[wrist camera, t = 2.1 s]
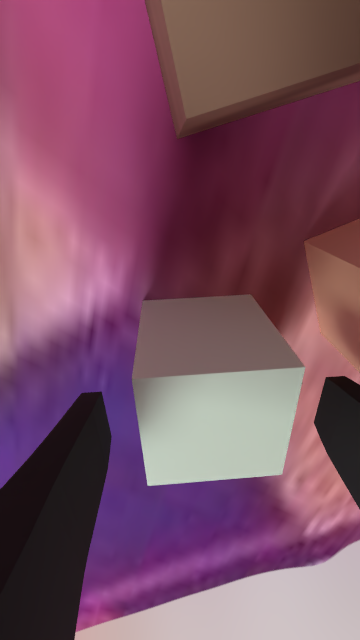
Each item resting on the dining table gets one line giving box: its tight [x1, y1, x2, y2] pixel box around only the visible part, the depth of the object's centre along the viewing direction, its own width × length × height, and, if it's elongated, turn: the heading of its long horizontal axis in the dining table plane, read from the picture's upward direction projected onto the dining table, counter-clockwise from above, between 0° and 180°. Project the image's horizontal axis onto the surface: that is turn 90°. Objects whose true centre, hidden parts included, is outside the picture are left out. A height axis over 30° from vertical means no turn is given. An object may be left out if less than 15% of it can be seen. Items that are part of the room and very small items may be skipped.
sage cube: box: [132, 294, 305, 486], centre depth 10 cm, size 4×4×5 cm
